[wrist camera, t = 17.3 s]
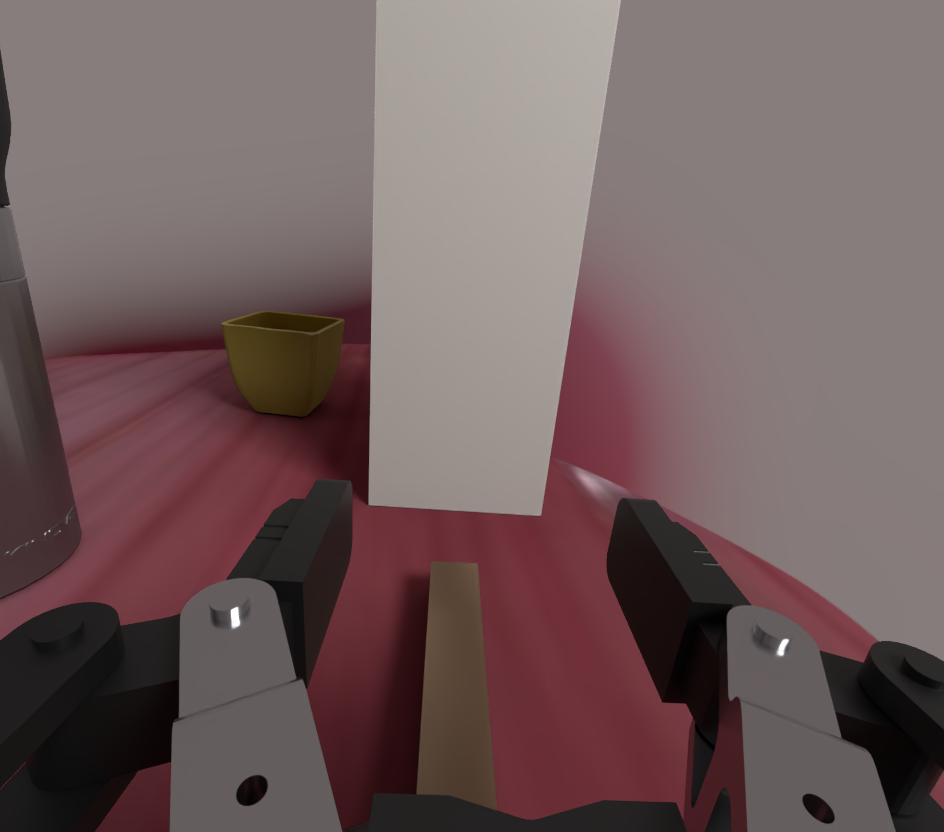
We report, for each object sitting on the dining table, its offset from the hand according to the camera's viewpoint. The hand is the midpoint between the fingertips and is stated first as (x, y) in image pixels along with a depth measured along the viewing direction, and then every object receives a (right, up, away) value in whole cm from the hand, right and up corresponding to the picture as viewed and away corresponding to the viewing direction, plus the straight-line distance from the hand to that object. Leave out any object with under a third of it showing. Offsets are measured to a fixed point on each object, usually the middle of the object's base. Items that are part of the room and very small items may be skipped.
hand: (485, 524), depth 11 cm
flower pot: (-19, +3, +38) cm, 43 cm away
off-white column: (-2, -2, +28) cm, 28 cm away
